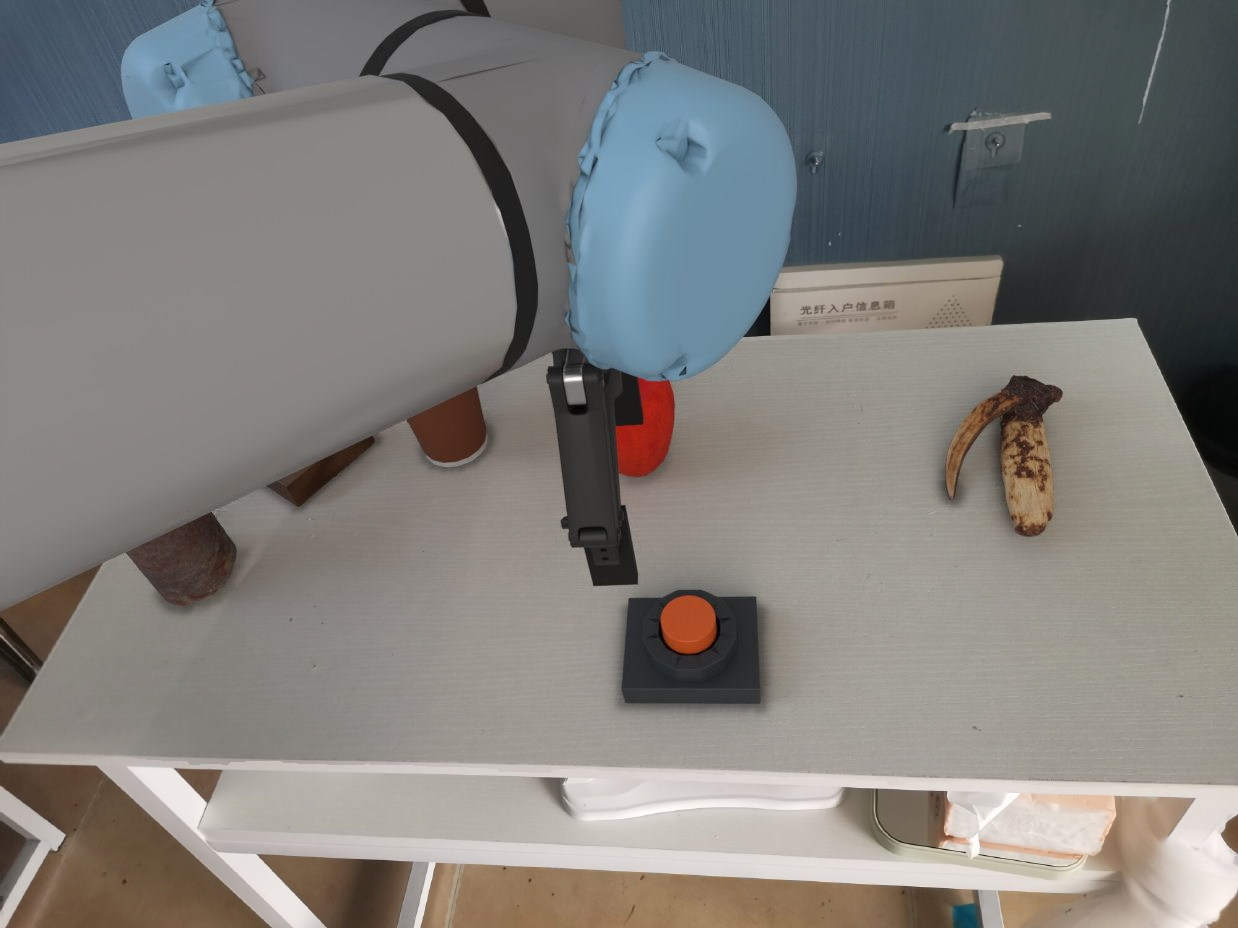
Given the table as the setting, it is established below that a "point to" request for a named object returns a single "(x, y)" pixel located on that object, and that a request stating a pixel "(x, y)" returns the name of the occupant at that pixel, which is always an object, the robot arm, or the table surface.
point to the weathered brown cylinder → (187, 560)
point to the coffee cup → (452, 430)
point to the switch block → (692, 655)
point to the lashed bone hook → (1014, 450)
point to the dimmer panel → (317, 473)
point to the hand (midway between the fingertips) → (620, 495)
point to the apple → (647, 431)
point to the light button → (688, 624)
